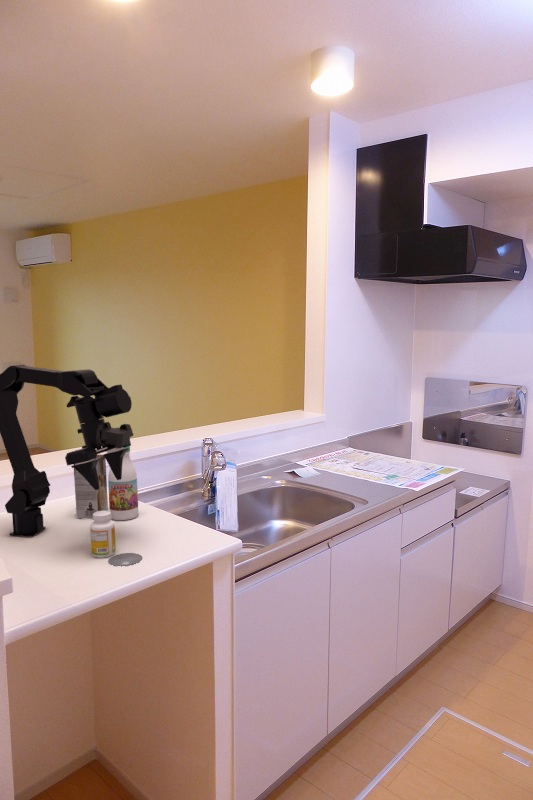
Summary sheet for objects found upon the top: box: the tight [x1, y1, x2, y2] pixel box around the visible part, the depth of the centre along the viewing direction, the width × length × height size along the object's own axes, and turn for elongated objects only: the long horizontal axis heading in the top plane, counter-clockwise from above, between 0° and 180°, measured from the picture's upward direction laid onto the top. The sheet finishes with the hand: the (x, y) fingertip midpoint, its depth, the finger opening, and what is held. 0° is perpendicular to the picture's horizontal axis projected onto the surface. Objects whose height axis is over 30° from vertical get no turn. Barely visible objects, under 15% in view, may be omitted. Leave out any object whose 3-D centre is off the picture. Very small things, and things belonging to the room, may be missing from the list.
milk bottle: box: [107, 446, 139, 521], centre depth 161 cm, size 8×8×20 cm
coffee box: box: [73, 454, 109, 519], centre depth 164 cm, size 9×6×16 cm
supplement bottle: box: [89, 510, 117, 559], centre depth 135 cm, size 5×5×10 cm
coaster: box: [107, 552, 143, 568], centre depth 132 cm, size 8×8×1 cm
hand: (108, 484), depth 141 cm, fingers open, 9 cm apart
